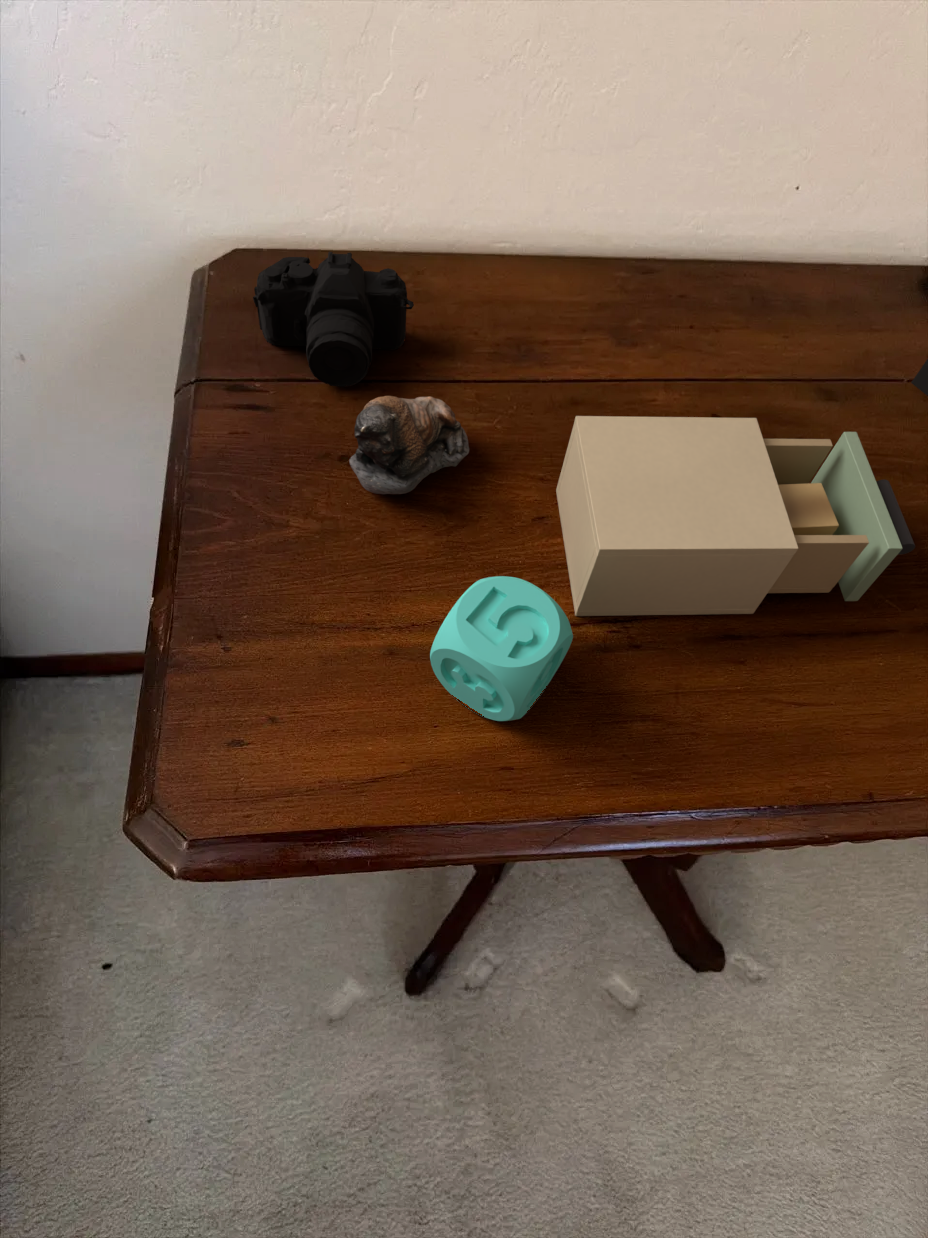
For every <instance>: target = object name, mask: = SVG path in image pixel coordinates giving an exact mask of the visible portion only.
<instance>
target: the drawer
mask: <svg viewBox="0 0 928 1238" xmlns="http://www.w3.org/2000/svg"><path fill="white" fill-rule="evenodd" d="M763 440H764V443H765V446H766V449H767V452H768V455H769V459H770V462H771V465H772V468H773V471H774V474H775V477H776V480H777V483H778V485H782V484H808V483H822V486H823V488H824V490H825V493H826V495H827V498H828V500H829V502H830V505H831V507H832V510H833V512H834V514H835V517H836V519H837V522H838V524H839V527H838V528H837V529H836V531H835V532H834V533H833V535H794V536H795V539H796V542H797V545H798V550H797V551H796V553H795V554H794V555H793V557H792V558H791V560H790V561H789V563H788V564H787V566H786V567H785V568H784V570H783V571H782V573H781V574H780V576H779V577H778V579H777V580H776V581H775V583H774V584H773V586H772V587H771V589H770V590H769V592H768V593H767V594H822V593H824V594H825V593H830V592H831V591H832V590H833V588H835V586H836V585H837V584H838V586H839V588H840V592H841V594H842V598H843V600H844V602H858V601H859V600H860V599H861V598H862V596H863V595H864V594H865V593H866V592H867V591H868V589H869V588H870V587H871V586H872V585H873V584H874V582H876V580H877V579H878V578H879V576H881V574H883V572H884V571H885V569H887V567H889V565H890V564H891V563H892V561H893V560H894V559H895V558H896V557H898V555H901V556H902V555H906V554H910V553H911V552H913V551H914V549H915V548H916V544H915V542H914V540H913V537H912V534H911V532H910V529H909V527H908V524H907V522H906V519H905V517H904V515H903V512H902V510H901V506H900V505H899V503H898V500H897V497H896V495H895V493H894V490H893V488H892V485H891V483H890V481H889V480H888V479H879V480H876V478H875V475H874V472H873V470H872V467H871V465H870V463H869V460H868V457H867V455H866V454H867V453H866V452H865V450H864V447H863V445H862V442H861V440H860V436H859V434H858V432H857V431H843V432H842V434H841V436H840V437H839V439H838V440H837V442H836V443H835V445H833V443H832V440H831V439H830V438H763Z"/></svg>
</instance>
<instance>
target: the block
mask: <svg viewBox="0 0 928 1238" xmlns="http://www.w3.org/2000/svg"><path fill="white" fill-rule="evenodd" d="M778 486H779V490H780V493H781V496H782V499H783V502H784V505H785V508H786V511H787V514H788V518H789V521H790V524H791V527H792V530H793V533H794V535H833V533H834V532H835V531H836V529H837V528H838V527H839V524H838V522H837V519H836V517H835V514H834V512H833V510H832V507H831V505H830V502H829V500H828V498H827V495H826V493H825V490H824V488H823V486H822V483H811V482H809V483H808V484H782V485H778Z"/></svg>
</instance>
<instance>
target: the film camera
mask: <svg viewBox="0 0 928 1238" xmlns="http://www.w3.org/2000/svg"><path fill="white" fill-rule="evenodd" d="M310 263H311V260H310V257H307V256H285V257H282V258H281V259H279V260H278V261H277V262H275V263H273V264H271V265H270V266H268V267H266V268H265V269H263V270H261V271H260V272H259V273H258V276H257V279H256V286H255V287H254V289H253V290H254V291H253V292H254V296H253V297H252V300H253V303H254V305H255V307H256V309H257V318H258V325H259V329H260V330H261V332H262V336H263V337H264V339H265V340H266V342H267V343H268V344H269V345H273V346H283V347H305V348H306V349H305V356H306V359H307V362H308V368H309V370H310V372H311V374H312V375H313V377H314V378H316V379H317V380H318V381H320V382H321V383H324V384H325V385H329V386H331V387H339V388H341V387H342V388H344V387H351V386H354V385H357V384H358V383H360V382H361V381H363V379H364V378H365V377H366V376H367V375H368V372H369V369H370V366H371V364H372V361H373V350H382V351H383V350H387V351H395V350H398V349H400V348H401V347H402V346H403V345H404V343H405V340H406V330H407V310H412V309H413V308H414V305H415V304H414V301H413V300H412V301H411V300H409V299H408V291H407V284H406V282H405V281H404V280H403V279H402V278H401V277H400V275H399V274H398V272H397V271H396V270H394V269H393V268H389V267H388V268H383V269H381V270H379V271H373V270H364V268H363V267H362V266H361V265H360V264H359V263H358V262H357V261H356V260H355V259H354V258H353V254H352V252H347V253H333V251H328V252H327V257H326V258H325V259H324V260H323V261H321V262H320V263H319V264H318V266H317V267H316V268H314V267H313V266H312V265H310ZM407 305H408V306H407Z"/></svg>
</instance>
